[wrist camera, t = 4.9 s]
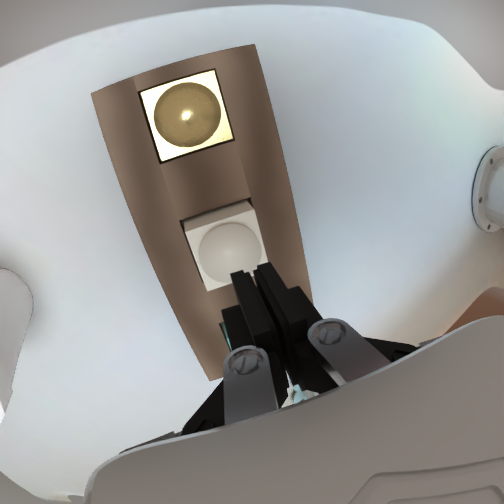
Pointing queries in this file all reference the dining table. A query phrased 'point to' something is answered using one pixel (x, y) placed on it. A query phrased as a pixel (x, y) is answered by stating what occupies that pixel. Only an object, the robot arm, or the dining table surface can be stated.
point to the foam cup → (11, 329)
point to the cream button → (225, 242)
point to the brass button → (187, 115)
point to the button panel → (204, 188)
